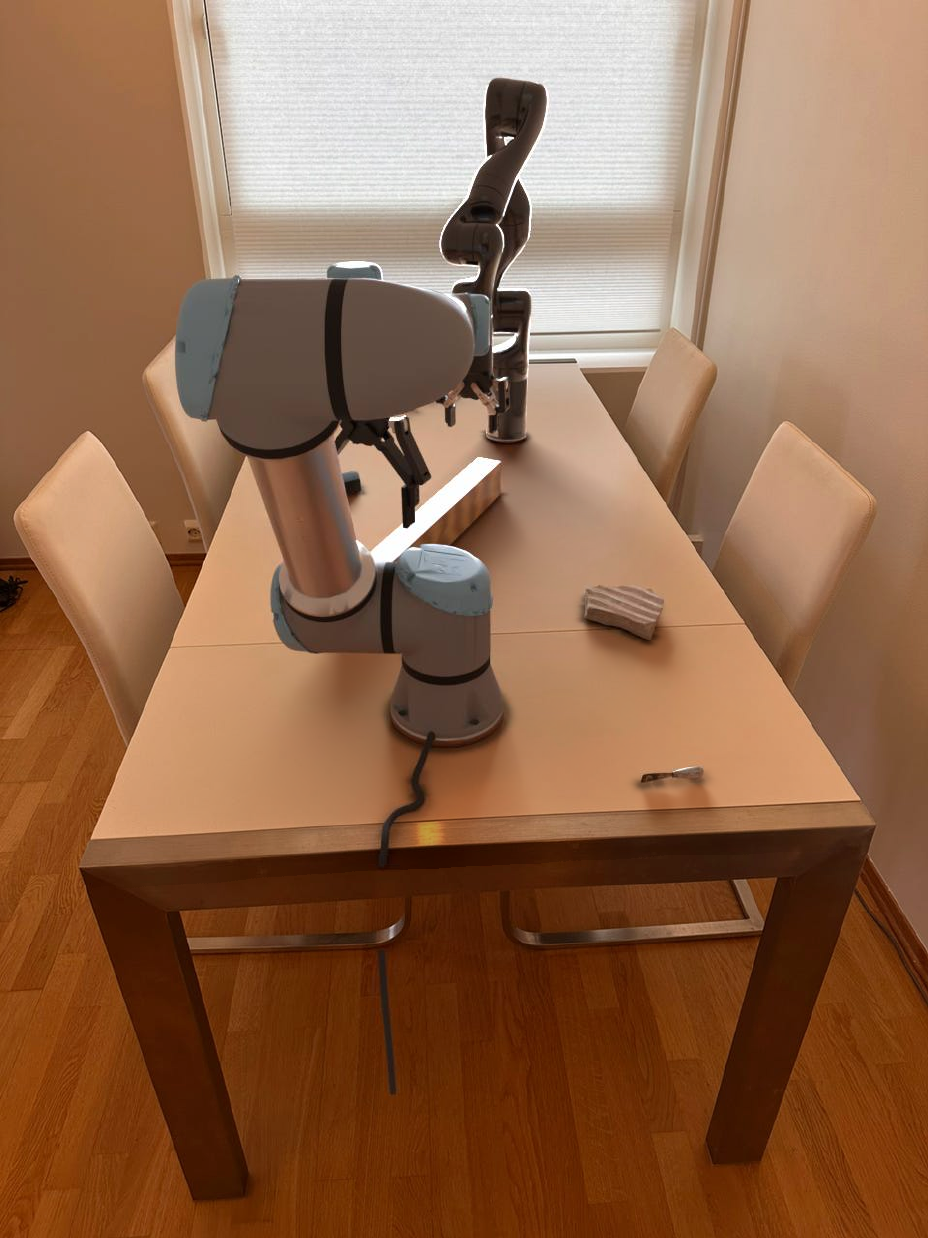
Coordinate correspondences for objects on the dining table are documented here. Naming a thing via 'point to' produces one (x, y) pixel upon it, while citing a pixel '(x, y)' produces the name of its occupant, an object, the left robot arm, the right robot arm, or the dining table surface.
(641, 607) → the stone
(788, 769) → the dining table surface
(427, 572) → the left robot arm
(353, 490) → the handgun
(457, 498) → the post
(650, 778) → the putty knife
